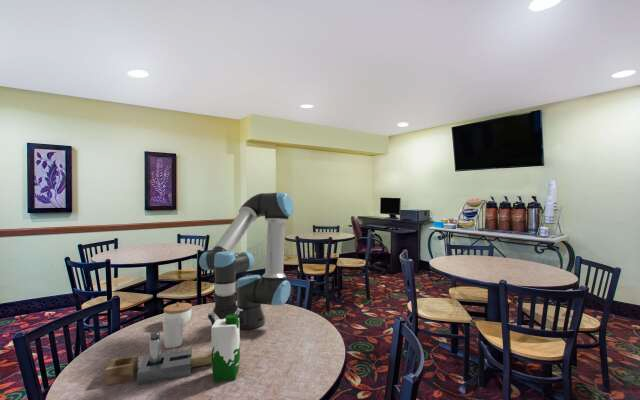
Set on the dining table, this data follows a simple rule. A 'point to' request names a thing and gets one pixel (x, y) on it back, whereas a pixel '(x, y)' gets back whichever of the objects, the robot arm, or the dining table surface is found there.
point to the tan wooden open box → (121, 370)
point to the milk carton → (225, 348)
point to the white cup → (173, 332)
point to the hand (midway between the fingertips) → (226, 356)
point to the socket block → (165, 367)
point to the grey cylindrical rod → (155, 348)
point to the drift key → (201, 359)
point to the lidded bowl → (178, 311)
